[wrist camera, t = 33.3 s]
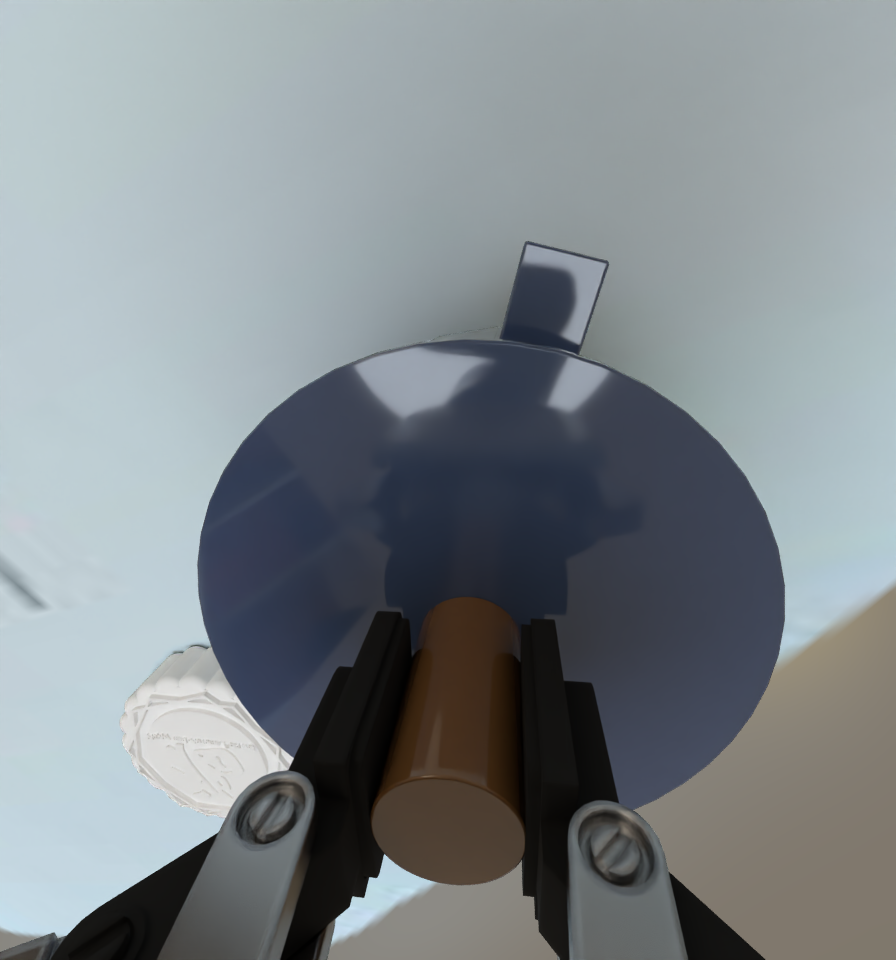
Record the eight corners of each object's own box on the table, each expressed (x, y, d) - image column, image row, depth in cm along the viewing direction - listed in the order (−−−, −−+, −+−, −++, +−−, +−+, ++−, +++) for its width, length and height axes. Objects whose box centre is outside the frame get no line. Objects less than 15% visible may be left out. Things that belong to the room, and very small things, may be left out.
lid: (211, 726, 16) (54, 949, 11) (237, 265, 11) (-58, 222, 5) (632, 845, 16) (702, 1145, 10) (883, 428, 10) (1331, 576, 5)
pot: (333, 588, 27) (261, 705, 19) (393, 230, 20) (319, 185, 12) (560, 651, 27) (582, 795, 19) (702, 307, 20) (830, 311, 12)
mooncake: (172, 767, 35) (136, 817, 31) (133, 635, 30) (87, 676, 27) (328, 786, 33) (308, 839, 30) (311, 650, 29) (285, 695, 26)
